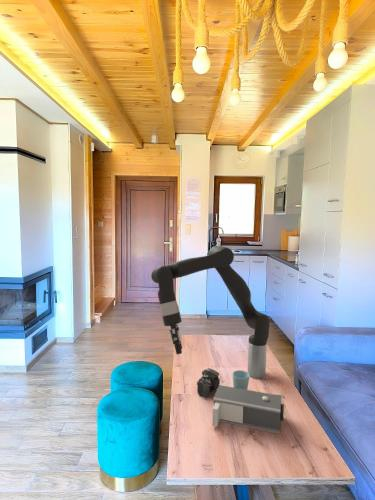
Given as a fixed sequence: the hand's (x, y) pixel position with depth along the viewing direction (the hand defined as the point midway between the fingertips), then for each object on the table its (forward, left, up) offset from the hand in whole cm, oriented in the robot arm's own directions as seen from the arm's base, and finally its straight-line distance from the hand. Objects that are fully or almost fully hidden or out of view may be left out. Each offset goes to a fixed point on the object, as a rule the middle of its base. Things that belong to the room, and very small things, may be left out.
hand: (179, 351), depth 131 cm
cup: (-20, +23, -26) cm, 40 cm away
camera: (-20, +8, -27) cm, 34 cm away
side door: (+3, +21, -25) cm, 33 cm away
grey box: (-5, +28, -26) cm, 39 cm away
